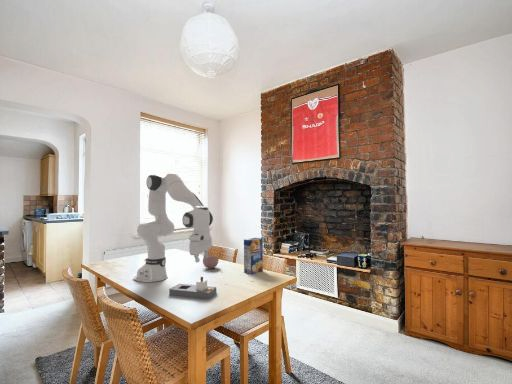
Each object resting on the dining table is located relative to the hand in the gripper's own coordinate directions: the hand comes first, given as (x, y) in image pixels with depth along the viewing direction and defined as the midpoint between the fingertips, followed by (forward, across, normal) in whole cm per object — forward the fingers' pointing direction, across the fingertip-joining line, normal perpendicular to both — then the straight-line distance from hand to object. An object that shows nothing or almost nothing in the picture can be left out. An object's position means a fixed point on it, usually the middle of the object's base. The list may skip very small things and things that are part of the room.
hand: (201, 260), depth 153 cm
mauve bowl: (+21, -56, -21) cm, 63 cm away
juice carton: (+20, -54, +14) cm, 60 cm away
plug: (+19, 0, 0) cm, 19 cm away
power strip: (+20, 0, -5) cm, 21 cm away
